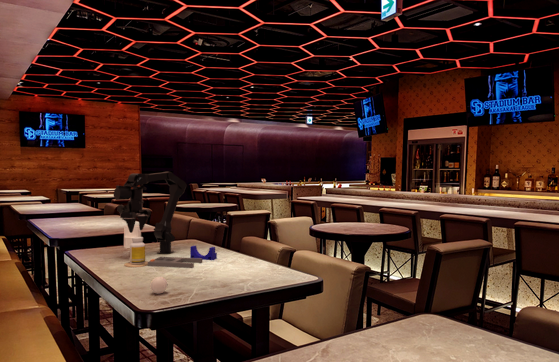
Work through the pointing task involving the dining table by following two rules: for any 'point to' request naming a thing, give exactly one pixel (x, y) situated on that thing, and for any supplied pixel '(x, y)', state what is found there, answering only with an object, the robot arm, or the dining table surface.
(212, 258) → the cable clip
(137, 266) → the cork coaster
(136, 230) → the cylinder with rectangular tab
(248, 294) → the dining table surface
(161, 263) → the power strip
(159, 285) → the plastic egg
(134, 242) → the pill bottle
